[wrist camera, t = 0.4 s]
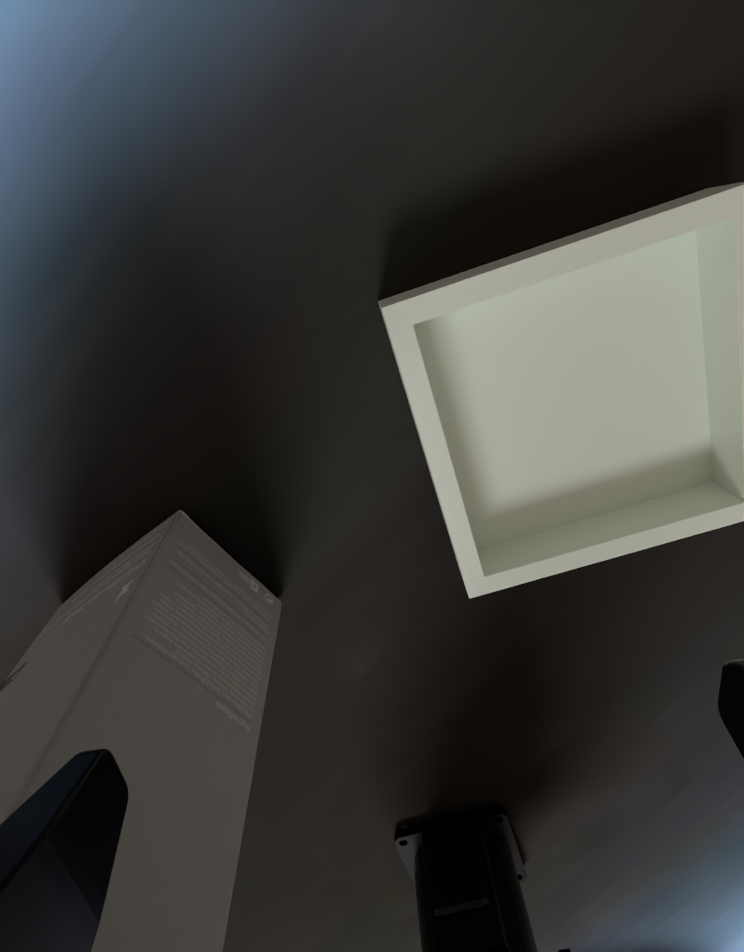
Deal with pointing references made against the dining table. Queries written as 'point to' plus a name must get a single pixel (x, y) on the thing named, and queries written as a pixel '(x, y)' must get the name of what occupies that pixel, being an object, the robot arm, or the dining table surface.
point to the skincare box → (153, 725)
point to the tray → (583, 391)
